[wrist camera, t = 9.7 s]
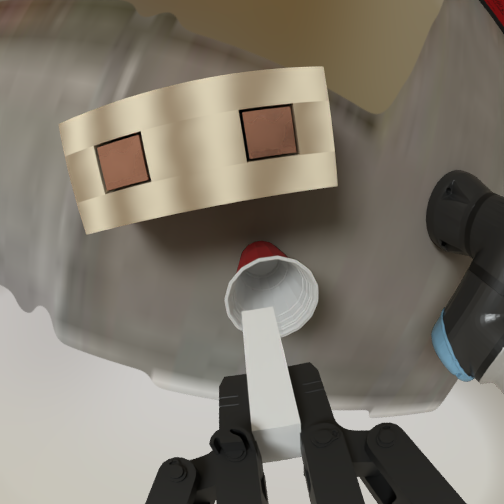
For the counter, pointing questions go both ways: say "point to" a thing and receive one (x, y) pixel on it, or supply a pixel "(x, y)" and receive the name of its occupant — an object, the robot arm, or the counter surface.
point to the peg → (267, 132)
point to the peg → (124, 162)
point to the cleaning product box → (495, 11)
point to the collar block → (201, 146)
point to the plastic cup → (272, 287)
